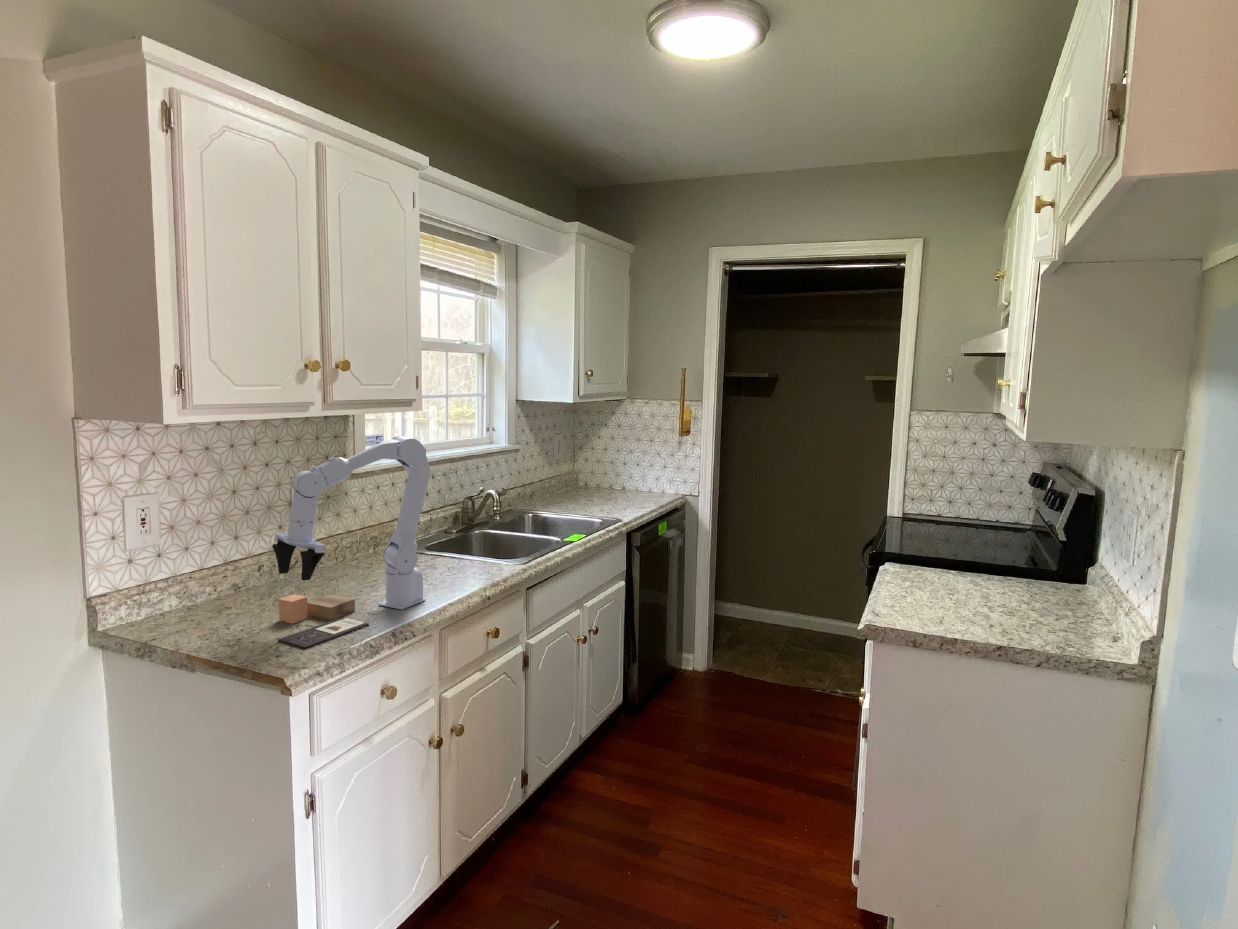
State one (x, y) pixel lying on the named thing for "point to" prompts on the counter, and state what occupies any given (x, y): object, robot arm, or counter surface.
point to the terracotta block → (293, 608)
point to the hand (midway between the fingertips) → (294, 576)
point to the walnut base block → (330, 607)
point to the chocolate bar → (322, 633)
